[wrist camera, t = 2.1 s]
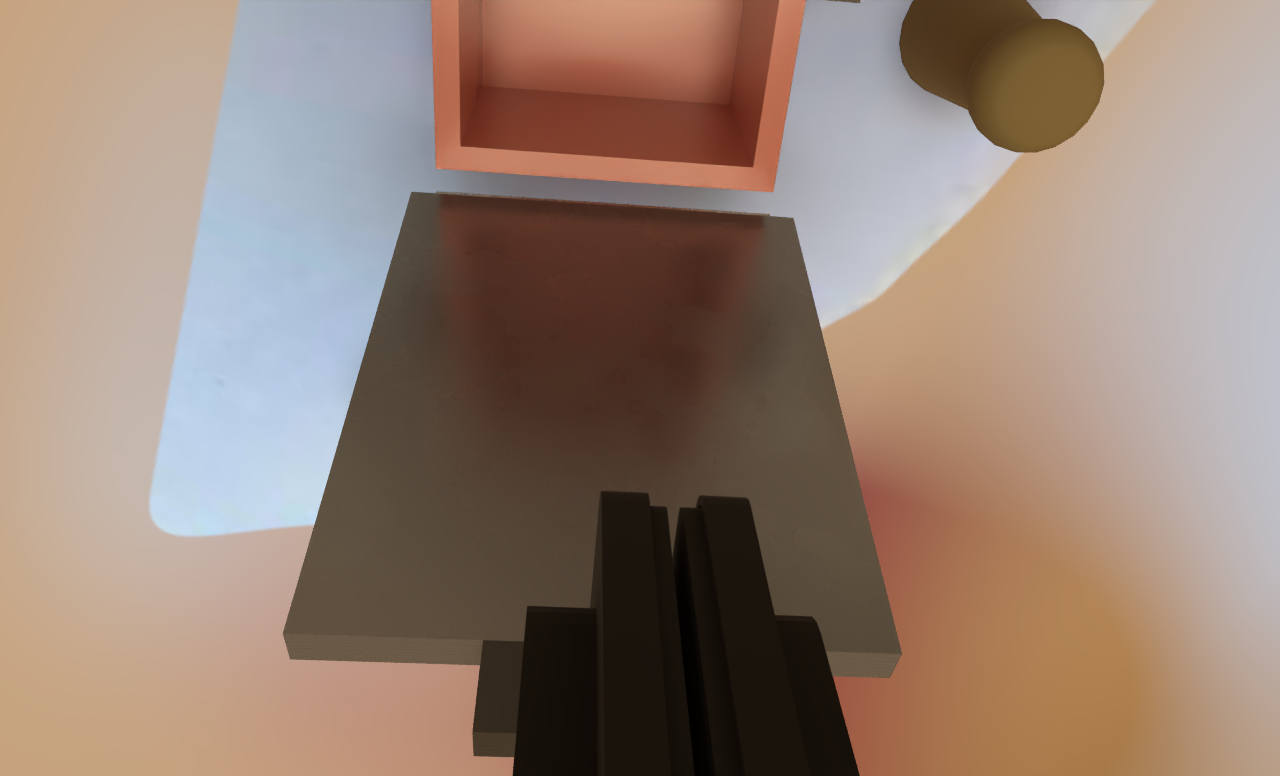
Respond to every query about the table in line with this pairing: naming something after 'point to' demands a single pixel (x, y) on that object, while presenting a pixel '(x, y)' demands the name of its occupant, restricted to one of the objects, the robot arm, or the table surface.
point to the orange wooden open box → (615, 88)
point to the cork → (1004, 68)
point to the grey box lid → (578, 433)
